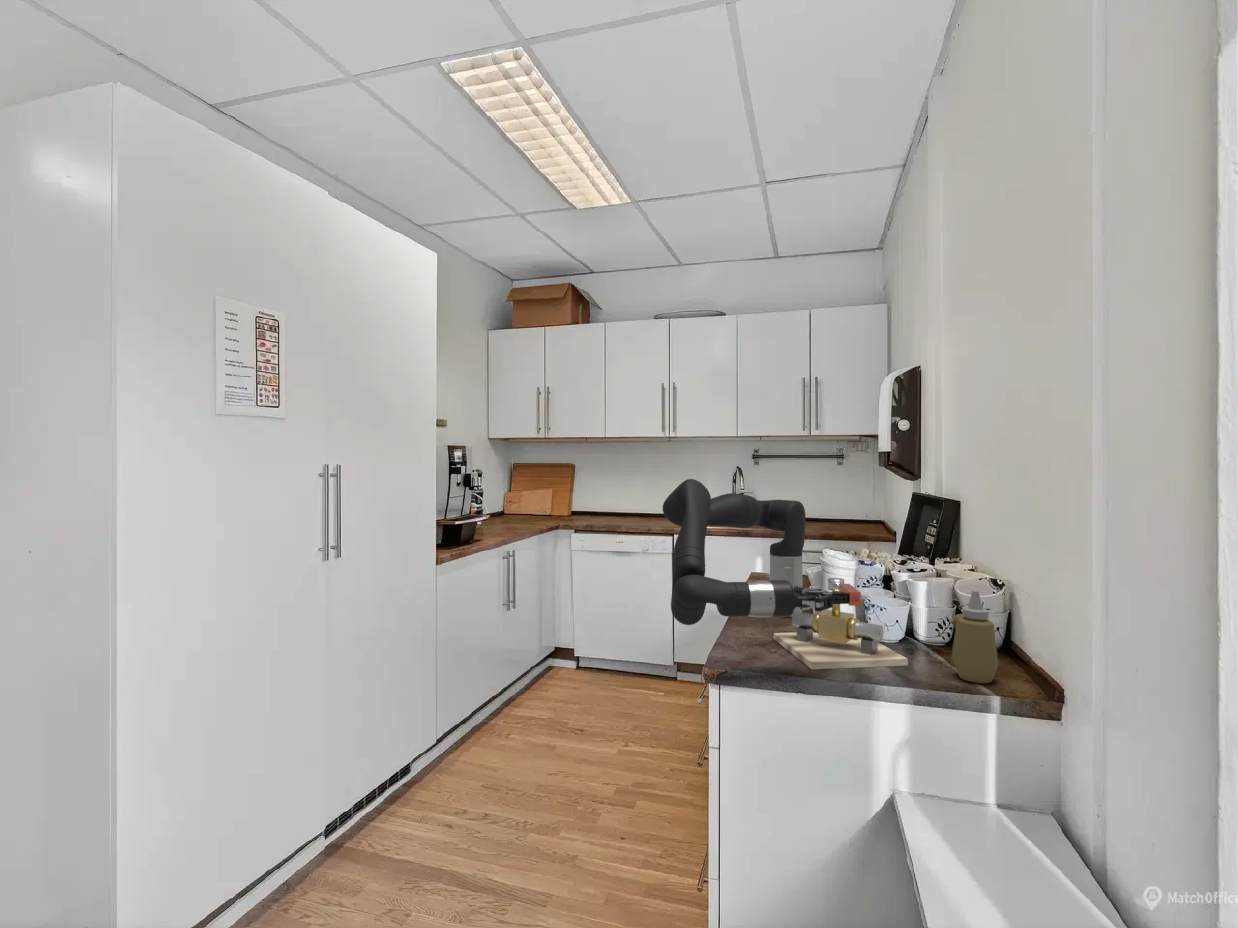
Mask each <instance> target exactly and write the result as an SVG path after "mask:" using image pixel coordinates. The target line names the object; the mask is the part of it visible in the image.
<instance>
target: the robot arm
mask: <svg viewBox="0 0 1238 928" xmlns="http://www.w3.org/2000/svg"><path fill="white" fill-rule="evenodd" d="M662 513H663V515H664V516H665V518H666V520H668V521H669V522H670V523H672V524H673V525H675V526H677V527H680V529H679V532H678V534H677V537H676V539H675V543H674V547H673V553H672V555H673V556H672V571H673V572H672V573H673V575H672V576H673V580H672V589H671V592H672V593H671V599H670V610H671V613H672V616H673V618H675V620H676V621H677V622H678V623H680V624H682V625H685V626H691V625H695V624H697V623H699V622H700V620H702V618H703V617H704V614H705V611H706V606H707V604H711V605H716V609H717V611H718V613H719V614H720V615H721V616H723V617H735V618H736V617H738V618H739V617H742V618H743V617H751V618H789V617H790V618H792V616H793V613H794V612H795V611H796V612H802V613H803V611H809V610H810V609H814V612H815V611H816V612H818V613H820V612H823V611H825V610H830V609H832V607H833V604H840V605H848V603H849V594H848V593H845V592H832V591H829V590H823V589H820V588H812V587H804V586H803V549H804V545H805V541H806V540H805V538H806V537H805V534H806V520H807V519H806V509H805V506H804V504H803V503H802V502H801V501H799V500H793V499H792V500H788V499H769V500H768V499H767V500H757V498H755V497H753V496H751V495H748V494H742V493H737V492H736V493H733V492H732V493H731V492H730V493H725V494H721V495H718V496H716V497H715V496H714V497H712V496H711V494H710V492H709V490H708V488H707V487H706V486H705V485H704V484H703V483H702V482H701V481H700V480H697V479H694V478H687V479H685V480H683V481H682V482H681V483H680V484H679V485H677V487H675V489H674V490H673V491H672V492H670V494H669V495H668V496H667V497H666V499H665V500H664V502H663V504H662ZM754 526H755V527H756V526H757V527H762V528H764V529H765V528H766V529H768V530H771V531H772V530H773V531H776V532H777V531H778V532H784V534H783V535H784V536H783V539H782V540H780V541H778V542H774V543H772V544H770V545H769V579H768V580H767V579H766V580H764V579H763V580H762V579H761V580H751V581H729V582H728V581H724V580H721V579H716V578H712V577H708V576H705V575H706V556H705V555H706V553H705V552H706V551H705V549H706V548H705V547H706V546H705V545H706V537H707V535H706V534H707V530H708V529H707V527H727V528H736V529H737V528H738V529H749V528H753V527H754Z"/></svg>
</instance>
